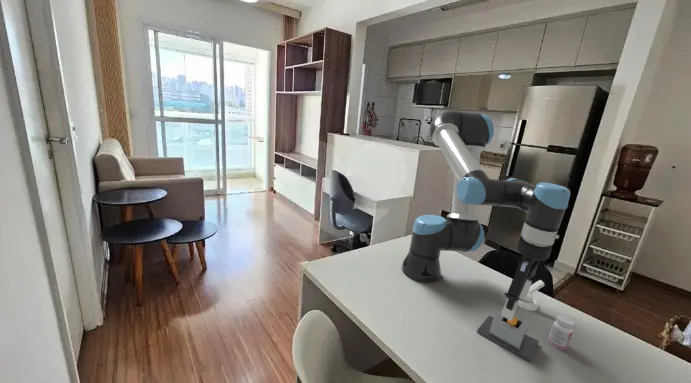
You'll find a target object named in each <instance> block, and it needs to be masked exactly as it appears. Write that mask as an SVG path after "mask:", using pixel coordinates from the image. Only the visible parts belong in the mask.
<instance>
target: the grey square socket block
mask: <svg viewBox="0 0 691 383" xmlns="http://www.w3.org/2000/svg"><path fill="white" fill-rule="evenodd" d="M502 311H503V308H501V309H500V310H499V311H498V313H497V314H495V316H494V317H493V318H494V319H493V321H492V324H491V328H490V331H489V334H490V335H492V336H494V337H495V338H497V339H499V340H501V341H502V342H504V343H506V344H508V345H510V346H511V347H513V348H515V349H517V350H519V349H520V347H521V346H522V344H523V342H524V340H525V339H526V337H527V335H528V333H529V331H530V327H531V324H532V322H531V321H529V320H526V319H524V318H522V317H520V316H519V315H516V314H514V316H515V317H516V318H517V319H518V321H517V324H516V327H514V326H512V325H510V324H508V323H506V322H507V318H505V317H503V316H501V314H502Z"/></svg>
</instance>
